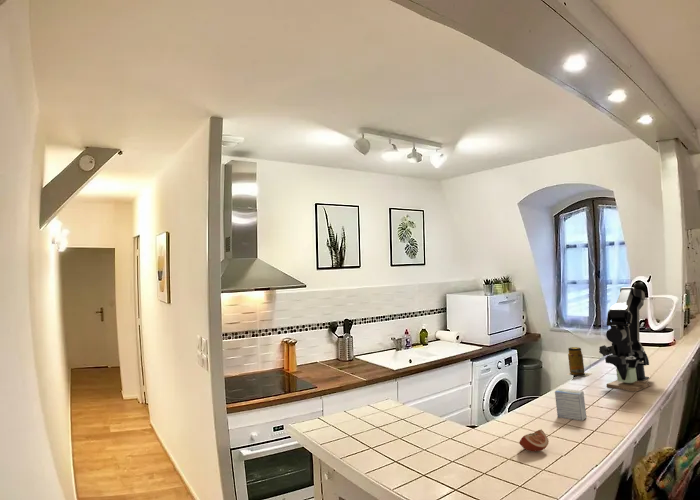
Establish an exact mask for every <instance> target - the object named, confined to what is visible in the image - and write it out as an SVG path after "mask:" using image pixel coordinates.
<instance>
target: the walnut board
mask: <svg viewBox="0 0 700 500" xmlns="http://www.w3.org/2000/svg"><path fill="white" fill-rule="evenodd" d="M606 387H607V388H610V389H611V388H612V389H616V390H624V391H630V392H631V391H632V392H638V391H641V390H643V389H646V388H648V387H650V383H649V382H646V381H645V382H644V381H639V380H637V381H635V382H633V383H626V382H619V381H618V380H617V379H616V380H614V381H611V382H608V383H606Z"/></svg>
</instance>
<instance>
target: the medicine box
mask: <svg viewBox="0 0 700 500" xmlns="http://www.w3.org/2000/svg"><path fill="white" fill-rule="evenodd" d="M554 396H555V397H554V398H555V406H556V412H557V413H556V416H557V418H560V419H568V420H575V421H576V420H577V421H582V422H583V421H585V419H586V418H587V411H586V410H587V408H586V401H585V394H584V391H583V390H577V389H566V388H557V389H556V390H555V391H554Z"/></svg>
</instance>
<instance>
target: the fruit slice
mask: <svg viewBox="0 0 700 500" xmlns="http://www.w3.org/2000/svg"><path fill="white" fill-rule="evenodd" d="M549 442H550V441H549V437H548V436H547V434H546V433H545V431H544V430H543V429H542V428H541V429H538V430H536V431H534V432H531V433H528V434H525V435H523V436H522V437H521V439H519V441H518V443H519V445H520V446H521V447H522V448H523V449H524V450H526V451H528V452H535V453H536V452H541V451H542V450H545V449H546V448H547V447H548V445H549Z"/></svg>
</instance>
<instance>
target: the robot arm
mask: <svg viewBox="0 0 700 500" xmlns="http://www.w3.org/2000/svg"><path fill="white" fill-rule="evenodd" d="M645 294H646V293H645V291H643V290H642V289H639V288H635V287H632V286H627V287H626V286H623V287H620V289H619V295H618V298H617V301H616V303H615V304H613V305H611V307H610V308H609V310H608V312H607V315H606V316H607V317H606V326H607V327H610V328H609V329H607V331H606V333H605V337H606V339H607V341H609V342H610V343H611V345H610V346H606V345H602V346H599V354H601V355H602V357H605V358H604V359H605V363H606V364H610V365H614V366H615V368H616V369H617V370H618V372H619V374H620V376H621V378H622V380H625V379H626V375H627V371H628V367H629V368H636V376H637V381H639V382H644V381H645V380H648V379H650V377H649V376H646V371H645V366H650V360H649V357H648V355H647V353H646V351H645V348H644V347H643V345H642V343H641V341H640V310H641V308H642V307H643V306H644V301H645V300H646V295H645Z"/></svg>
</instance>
